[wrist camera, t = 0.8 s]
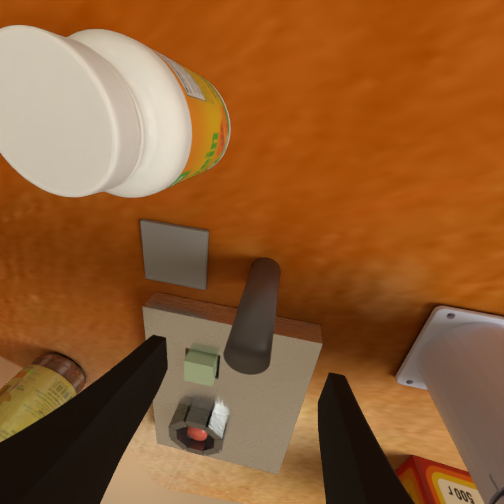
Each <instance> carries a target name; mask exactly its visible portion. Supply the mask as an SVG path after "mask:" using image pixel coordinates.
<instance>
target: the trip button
mask: <svg viewBox="0 0 504 504" xmlns="http://www.w3.org/2000/svg"><path fill="white" fill-rule="evenodd" d="M187 434H188V435H189V436H190V437H191V438H193V439H195V440H199V441H202V440H205V439H206V438H207V434H208V433H206V432H205V431H204V430H201V429H197V428H193V427H189V428H188V430H187Z"/></svg>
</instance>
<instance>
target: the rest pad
mask: <svg viewBox="0 0 504 504" xmlns="http://www.w3.org/2000/svg"><path fill="white" fill-rule="evenodd" d="M140 225H141V235H142V246H143V256H144V266H145V277H146V279H151V280H156V281H161V282H166V283H171V284H176V285H181V286H187V287H192V288H197V289H202V290H205V289H206V287H207V264H208V238H209V230H205V229H199V228H194V227H188V226H182V225H176V224H170V223H165V222H159V221H153V220H147V219H142V220H140Z"/></svg>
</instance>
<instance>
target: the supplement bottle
mask: <svg viewBox="0 0 504 504" xmlns="http://www.w3.org/2000/svg"><path fill="white" fill-rule="evenodd" d="M229 139H230V118H229V114H228V110H227V107H226V105H225V103H224V101H223V99H222V97H221V95H220V94H219V93H218V91H217V90H216V89H215V87H214V86H213V85H212V84H211V83H210V82H208V81H207V80H206V79H204V78H203V77H201V76H200V75H198V74H196V73H195V72H193V71H191V70H189V69H187V68H186V67H184V66H182V65H180V64H178V63H177V62H175V61H173V60H171V59H169V58H167V57H166V56H164V55H162V54H160V53H158V52H156V51H155V50H153V49H151V48H150V47H148V46H146V45H144V44H142V43H140V42H138V41H137V40H135V39H132V38H130V37H128V36H125V35H123V34H120V33H117V32H114V31H110V30H103V29H88V30H83V31H79V32H76V33H74V34H72V35H70V36H68V37H63V36H60V35H57V34H55V33H52V32H49V31H46V30H43V29H40V28H37V27H33V26H25V25H14V26H7V27H4V28H1V29H0V153H1V154H2V156H3V157H4V158H5V159H6V161H7V162H8V163H9V164H10V165H11V166H12V167H13V168H14V169H15V170H16V171H17V172H18V173H19V174H21V175H22V176H23V177H24V178H25V179H27V180H28V181H30V182H31V183H32V184H34V185H36V186H37V187H39V188H41V189H43V190H45V191H47V192H50V193H53V194H56V195H60V196H65V197H83V196H88V195H91V194H95V193H99V192H102V191H105V192H107V193H110V194H113V195H116V196H120V197H128V198H137V197H144V196H148V195H152V194H154V193H157V192H159V191H162V190H164V189H166V188H168V187H170V186H173V185H175V184H177V183H179V182H181V181H184V180H186V179H188V178H190V177H193V176H195V175H197V174H200V173H202V172H204V171H206V170H208V169H210V168H211V167H213V166H214V165H215V164H216V163H217V162H218V161H219V160H220V159H221V158H222V156H223V155H224V153H225V151H226V149H227V146H228V143H229Z"/></svg>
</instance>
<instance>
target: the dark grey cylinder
mask: <svg viewBox="0 0 504 504" xmlns="http://www.w3.org/2000/svg"><path fill="white" fill-rule="evenodd" d="M280 274H281V270H280V267H279V265H278V263H277V262H275V261H274V260H272V259H269V258H261V259H258V260H256V261H255V262H254V263H253V265H252V268H251V271H250V274H249V277H248V280H247V283H246V286H245V289H244V292H243V295H242V298H241V301H240V304H239V307H238V310H237V313H236V316H235V319H234V322H233V325H232V328H231V331H230V334H229V337H228V340H227V343H226V346H225V349H224V353H223V356H224V360H225V362H226V363H227V364H228V365H229V366H230V367H231V368H232V369H233V370H235V371H237V372H239V373H242V374H247V375H256V374H260V373H262V372H264V371H265V370H267V369H268V367H269V365H270V360H271V351H272V343H273V334H274V325H275V317H276V308H277V300H278V291H279V282H280Z"/></svg>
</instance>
